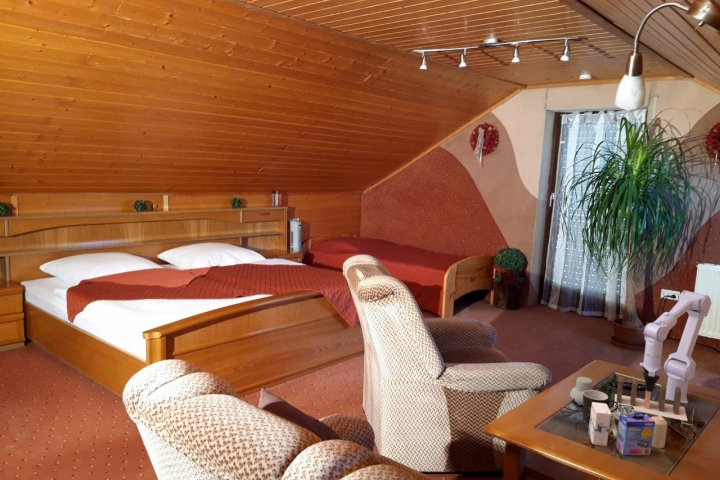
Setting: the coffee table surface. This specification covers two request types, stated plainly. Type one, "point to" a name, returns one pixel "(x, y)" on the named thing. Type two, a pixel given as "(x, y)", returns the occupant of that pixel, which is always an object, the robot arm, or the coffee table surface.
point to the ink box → (599, 423)
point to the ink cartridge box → (635, 434)
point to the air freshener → (581, 389)
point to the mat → (654, 408)
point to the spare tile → (647, 399)
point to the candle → (659, 432)
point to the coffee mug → (596, 397)
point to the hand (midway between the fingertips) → (648, 387)
